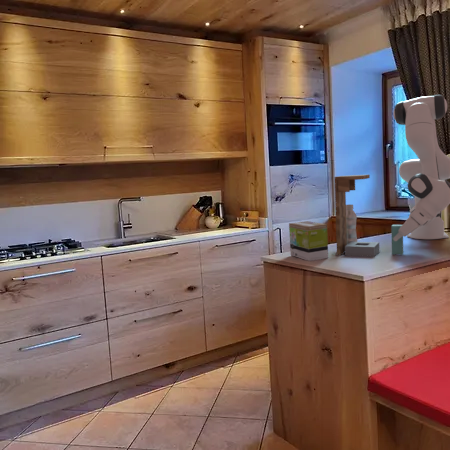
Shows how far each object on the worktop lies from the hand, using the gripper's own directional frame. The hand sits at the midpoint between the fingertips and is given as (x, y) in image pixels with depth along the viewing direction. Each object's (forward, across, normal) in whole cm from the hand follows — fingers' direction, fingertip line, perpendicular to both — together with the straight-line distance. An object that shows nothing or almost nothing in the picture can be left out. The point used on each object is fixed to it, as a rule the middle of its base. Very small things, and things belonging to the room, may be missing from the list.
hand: (395, 238), depth 191 cm
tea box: (+28, +14, -19) cm, 37 cm away
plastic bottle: (+20, -10, -10) cm, 25 cm away
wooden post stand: (+16, +2, -7) cm, 18 cm away
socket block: (+14, +2, -5) cm, 15 cm away
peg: (+4, 0, +5) cm, 7 cm away
